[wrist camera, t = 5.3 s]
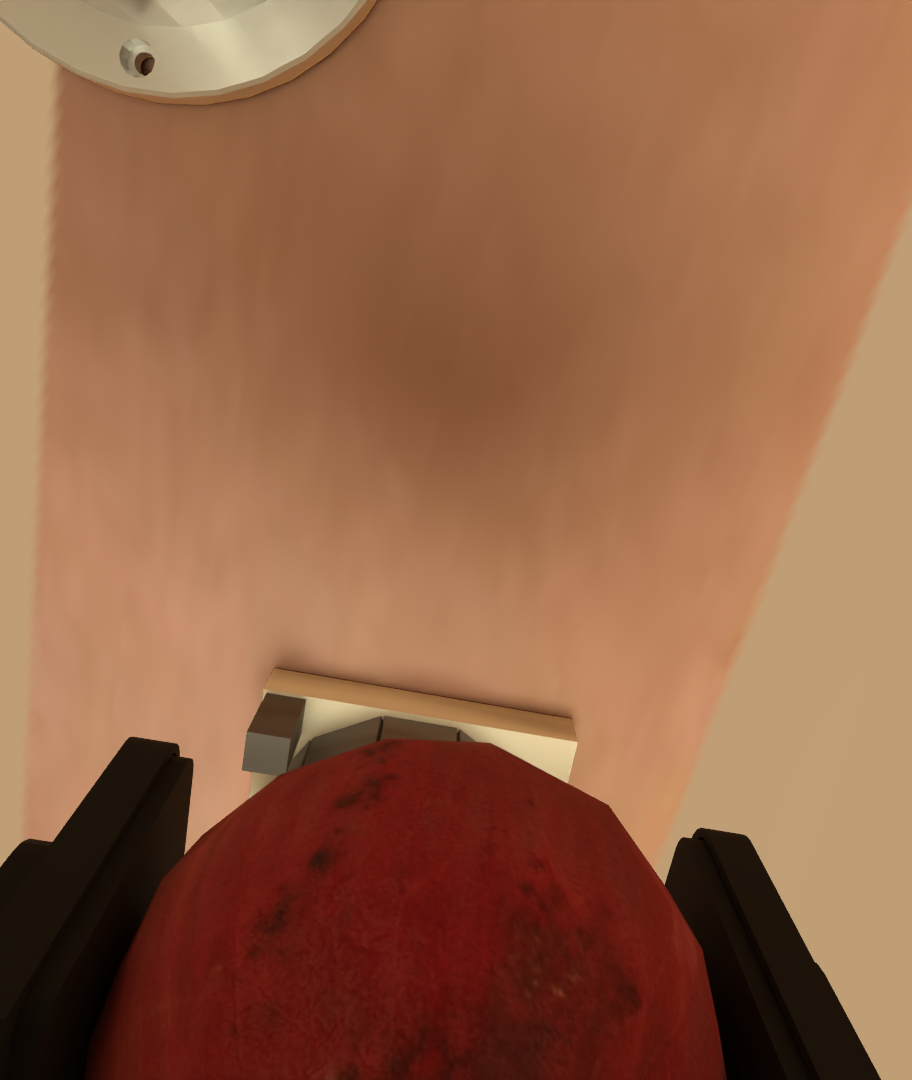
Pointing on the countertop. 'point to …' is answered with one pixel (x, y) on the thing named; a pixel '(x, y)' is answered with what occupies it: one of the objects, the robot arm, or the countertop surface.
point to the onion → (412, 936)
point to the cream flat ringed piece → (387, 725)
